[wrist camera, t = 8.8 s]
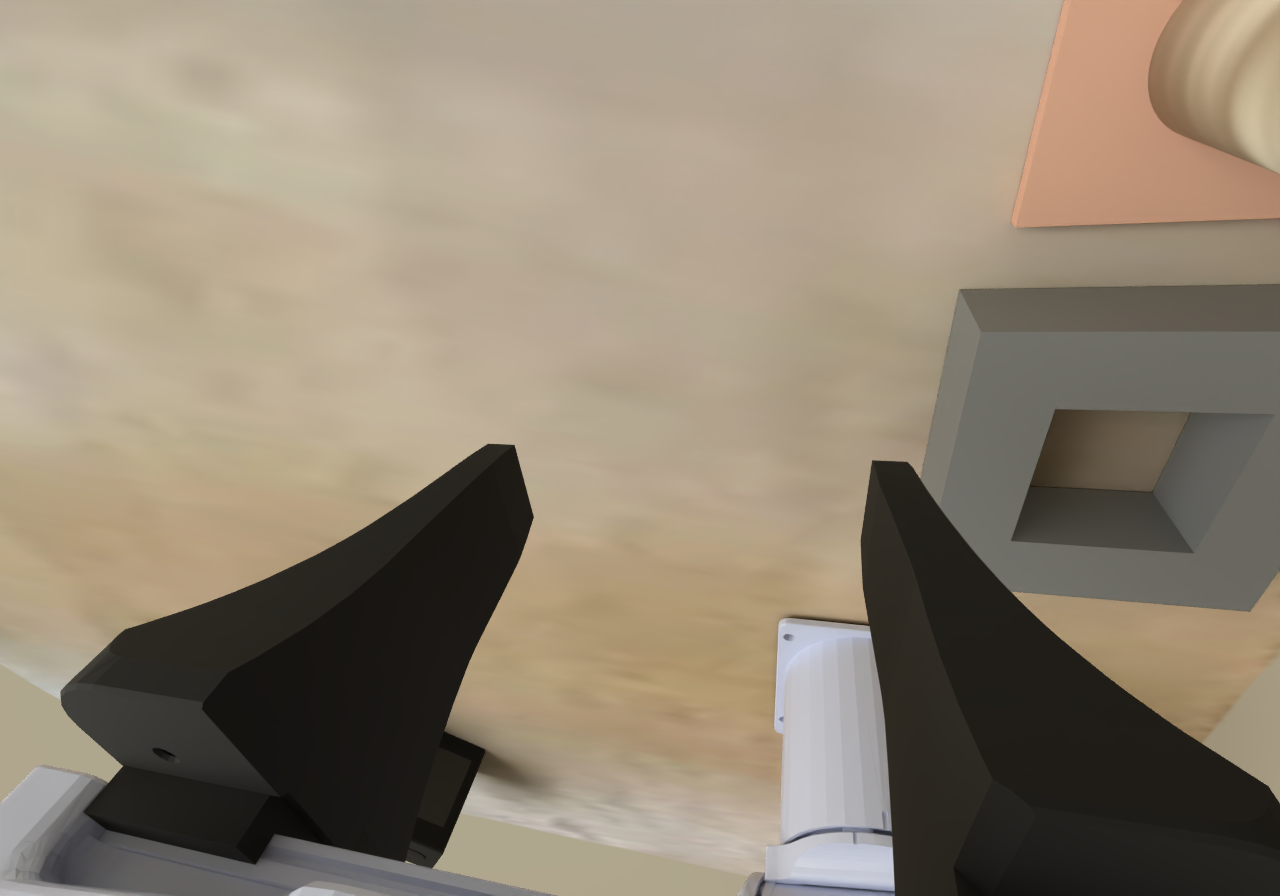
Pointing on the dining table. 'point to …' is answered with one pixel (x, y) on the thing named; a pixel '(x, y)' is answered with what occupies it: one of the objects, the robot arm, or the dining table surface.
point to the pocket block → (1120, 381)
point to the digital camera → (443, 798)
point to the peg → (1221, 77)
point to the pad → (1124, 135)
